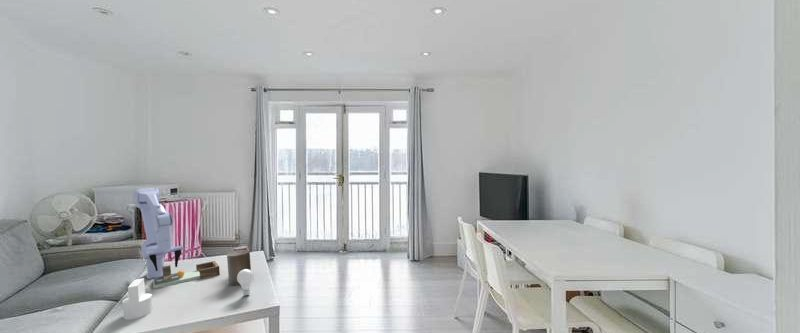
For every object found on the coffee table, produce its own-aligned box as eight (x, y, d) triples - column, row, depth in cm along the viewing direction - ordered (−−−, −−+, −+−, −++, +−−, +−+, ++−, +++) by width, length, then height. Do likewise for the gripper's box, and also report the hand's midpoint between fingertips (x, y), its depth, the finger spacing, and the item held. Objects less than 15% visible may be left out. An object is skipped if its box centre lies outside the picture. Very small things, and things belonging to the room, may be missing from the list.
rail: (154, 280, 166) (153, 277, 166) (177, 275, 171) (177, 272, 171) (154, 284, 160) (154, 282, 159) (179, 279, 165) (179, 277, 165)
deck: (152, 282, 166) (152, 279, 166) (198, 272, 178) (198, 270, 178) (153, 288, 158) (153, 285, 158) (201, 277, 170) (201, 275, 170)
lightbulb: (238, 299, 142) (236, 273, 142) (237, 294, 148) (236, 268, 147) (255, 296, 145) (253, 270, 145) (254, 291, 151) (252, 265, 150)
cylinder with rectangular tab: (127, 311, 136) (125, 280, 135) (155, 306, 139) (153, 276, 139) (120, 321, 127) (117, 289, 127) (149, 316, 131) (147, 284, 130)
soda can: (244, 275, 171) (243, 249, 170) (231, 275, 172) (229, 249, 171) (253, 270, 178) (252, 245, 177) (241, 270, 179) (239, 245, 178)
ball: (177, 276, 169) (176, 270, 169) (184, 275, 171) (183, 269, 171) (177, 278, 167) (177, 272, 167) (185, 276, 169) (184, 270, 169)
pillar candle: (256, 279, 164) (254, 248, 164) (236, 287, 156) (234, 253, 155) (243, 276, 169) (241, 246, 169) (224, 283, 161) (221, 251, 161)
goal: (196, 272, 178) (196, 264, 178) (215, 268, 183) (214, 260, 183) (200, 278, 169) (199, 270, 169) (219, 274, 174) (219, 266, 174)
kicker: (163, 278, 167) (162, 266, 166) (170, 276, 169) (169, 264, 168) (163, 281, 163) (162, 268, 162) (171, 279, 165) (170, 267, 164)
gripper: (145, 244, 157) (147, 274, 158) (183, 238, 166) (185, 266, 167) (145, 241, 163) (147, 270, 163) (181, 236, 172) (183, 263, 172)
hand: (166, 268), depth 165 cm, fingers open, 7 cm apart
